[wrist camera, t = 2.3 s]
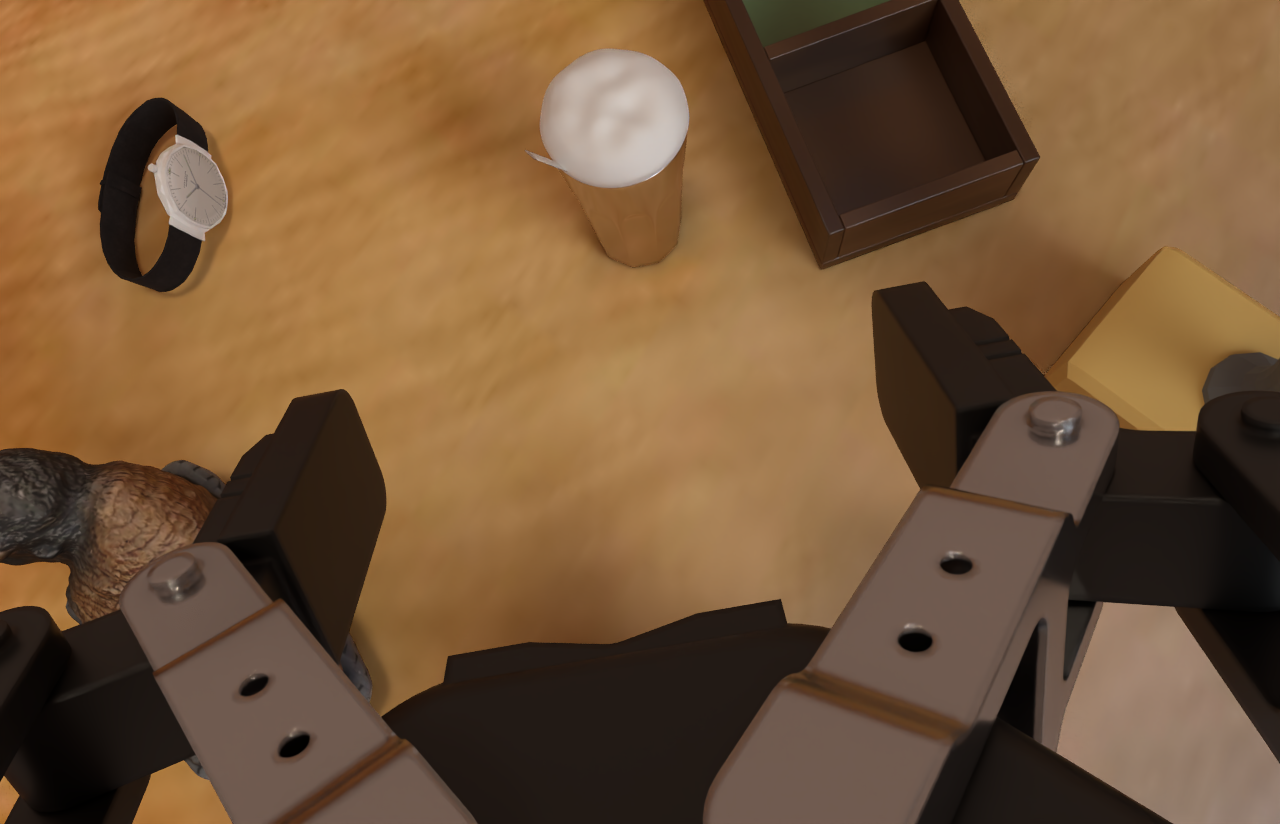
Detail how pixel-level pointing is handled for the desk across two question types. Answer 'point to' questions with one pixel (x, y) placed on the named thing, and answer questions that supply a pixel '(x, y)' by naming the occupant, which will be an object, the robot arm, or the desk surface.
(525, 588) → the desk surface
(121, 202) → the watch
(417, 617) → the desk surface
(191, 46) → the desk surface
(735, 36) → the tray
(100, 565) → the brown animal figure
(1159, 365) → the rubber stamp
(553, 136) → the milkshake
